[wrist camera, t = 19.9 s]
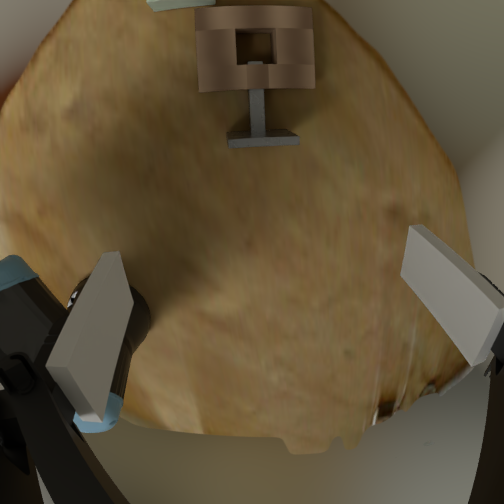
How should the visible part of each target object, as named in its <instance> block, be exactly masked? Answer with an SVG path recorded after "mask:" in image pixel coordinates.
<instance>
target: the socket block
mask: <svg viewBox="0 0 504 504" xmlns="http://www.w3.org/2000/svg"><path fill="white" fill-rule="evenodd" d="M195 31H196V51H197V69H198V85H199V93H203V92H214V91H227V90H244V89H276V88H302V89H315V60H314V37H313V19H312V8H311V7H297V6H271V5H248V6H222V7H208V8H197V9H195ZM249 33H270V36H271V57H272V64H250V65H237V59H236V39H235V34H249Z"/></svg>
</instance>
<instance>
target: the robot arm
mask: <svg viewBox="0 0 504 504" xmlns="http://www.w3.org/2000/svg"><path fill="white" fill-rule="evenodd" d="M400 276H401V277H402V278H403V279H404V280H405V281H406V283H407V284H408V285H409V286H410V287H411V289H412V290H413V291H414V292H415V293H416V295H417V296H418V297H419V298H420V300H421V301H422V302H423V303H424V305H425V306H426V307H427V308H428V310H429V311H430V312H431V313H432V315H433V316H434V317H435V318H436V320H437V321H438V322H439V324H440V325H441V326H442V327H443V329H444V330H445V331H446V333H447V334H448V335H449V337H450V338H451V339H452V341H453V342H454V343H455V345H456V346H457V347H458V349H459V350H460V351H461V353H462V354H463V356H464V357H465V358H466V360H467V361H468V363H469V364H470V365H471V367H472V366H474V365H477V364H479V363H482V362H484V361H485V359H486V358H487V356H488V354H489V352H490V350H491V351H492V352H493V353H494V354H495V355H494V357H493V359H492V361H491V362H490V364H489V366H488V368H487V370H486V371H485V373H484V376H486V375H487V374H488V372H489V371H491V375H490V376H489V377H490V390H489V401H488V410H487V417H486V425H485V431H484V437H483V443H482V449H481V453H480V458H479V463H478V468H477V472H476V476H475V480H474V484H473V488H472V492H471V495H470V499H469V502H468V504H504V294H503V293H502V292H501V291H500V290H498V288H497V287H496V286H495V285H494V284H492V282H491V281H490V280H489V279H488V278H487V277H486V276H484V275H482V274H481V273H479V272H477V271H476V270H475V269H474V268H473V267H471V266H470V265H469V264H468V263H467V262H466V261H465V260H464V259H462V258H461V257H460V256H459V255H458V254H457V253H456V252H454V251H453V250H452V249H451V248H450V247H449V246H447V245H446V244H445V243H444V242H443V241H441V240H440V239H439V238H438V237H437V236H435V235H434V234H433V233H432V232H431V231H429V230H428V229H427V228H426V227H424V226H423V225H410V226H409V231H408V237H407V243H406V249H405V254H404V259H403V264H402V269H401V274H400ZM149 325H150V311H149V308H148V306H147V304H146V302H145V300H144V299H143V297H142V296H141V295H140V294H139V293H138V292H137V291H136V290H135V289H134V288H132V287H131V286H130V285H128V281H127V278H126V274H125V271H124V267H123V263H122V259H121V255H120V252H119V251H114V252H104V253H103V254H102V256H101V258H100V259H99V261H98V263H97V265H96V266H95V268H94V270H93V272H92V273H91V275H90V277H89V278H88V279H85V280H83V281H82V282H80V283H79V284H78V285H77V286H76V288H75V289H74V291H73V293H72V294H71V296H70V299H69V302H68V308H67V310H66V309H65V307H64V306H63V305H62V304H61V303H60V302H59V301H58V299H57V298H56V297H55V296H54V295H53V294H52V292H51V291H50V290H49V289H48V288H47V286H46V285H45V284H44V283H43V282H42V280H41V279H40V278H39V275H38V274H37V273H35V272H34V271H33V270H32V269H31V268H30V267H29V266H28V265H27V263H26V262H25V261H24V260H23V259H22V258H21V257H20V256H18V255H9V256H7V257H5V258H4V259H2V260H1V261H0V504H44V502H43V498H42V494H41V490H40V486H39V481H38V477H37V472H36V468H37V470H38V472H39V474H40V476H41V478H42V480H43V483H44V484H45V486H46V488H47V490H48V492H49V494H50V496H51V498H52V500H53V502H54V503H55V504H130V503H129V502H128V501H127V499H126V498H125V497H124V495H123V494H122V493H121V491H120V490H119V489H118V487H117V486H116V485H115V484H114V482H113V481H112V479H111V478H110V477H109V475H108V474H107V472H106V471H105V469H104V468H103V466H102V465H101V464H100V462H99V461H98V459H97V458H96V456H95V455H94V453H93V451H92V450H91V448H90V447H89V445H88V444H87V442H86V441H85V439H84V437H83V435H82V434H81V432H86V433H98V432H103V431H107V430H109V429H111V428H112V427H113V426H114V425H115V424H116V423H117V421H118V417H119V414H120V410H121V408H122V406H123V399H124V393H125V388H126V383H127V377H128V372H129V367H130V362H131V358H132V355H133V353H134V352H135V351H136V349H137V348H138V347H139V345H140V344H141V343H142V342H143V341H144V339H145V338H146V336H147V333H148V330H149ZM35 466H36V467H35Z"/></svg>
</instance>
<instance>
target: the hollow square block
mask: <svg viewBox="0 0 504 504" xmlns="http://www.w3.org/2000/svg"><path fill="white" fill-rule="evenodd" d="M147 4H148V5H149V6H150V7H151V9H152V10H153V11H154V12H156V11H163V10H169V9H177V8H185V7H194V6H204V5H215V0H147Z"/></svg>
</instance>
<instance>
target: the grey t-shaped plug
mask: <svg viewBox="0 0 504 504" xmlns="http://www.w3.org/2000/svg"><path fill="white" fill-rule="evenodd" d="M250 64H263V62H262V61H251V62H247V65H250ZM248 100H249V121H250V131H234V132H226V135H227V143H228V147H229V148H242V147H258V146H279V145H299V136H298V135H296V134H294V133H293V132H291V131H289V130H287V129H271V130H265V108H264V89H248Z"/></svg>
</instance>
